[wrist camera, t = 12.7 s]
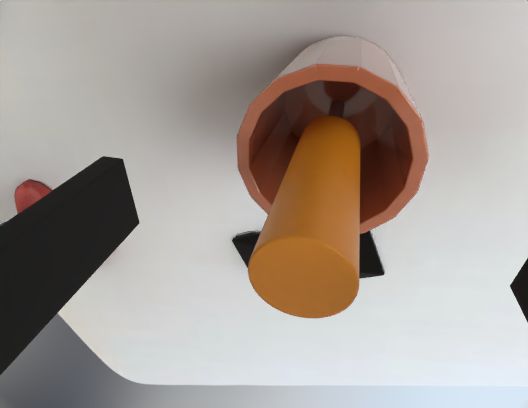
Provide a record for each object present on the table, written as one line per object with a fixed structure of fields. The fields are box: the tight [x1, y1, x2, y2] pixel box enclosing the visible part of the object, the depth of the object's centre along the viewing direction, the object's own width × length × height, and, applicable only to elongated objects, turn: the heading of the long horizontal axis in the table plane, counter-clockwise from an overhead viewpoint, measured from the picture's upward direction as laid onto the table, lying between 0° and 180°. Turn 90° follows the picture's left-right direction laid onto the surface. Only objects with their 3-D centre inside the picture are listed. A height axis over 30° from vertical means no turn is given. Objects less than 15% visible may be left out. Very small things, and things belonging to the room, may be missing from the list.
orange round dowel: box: [248, 101, 360, 318], centre depth 15 cm, size 3×3×16 cm
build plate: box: [232, 231, 384, 278], centre depth 28 cm, size 12×7×5 cm, turn 115°
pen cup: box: [237, 36, 429, 234], centre depth 18 cm, size 8×8×10 cm
